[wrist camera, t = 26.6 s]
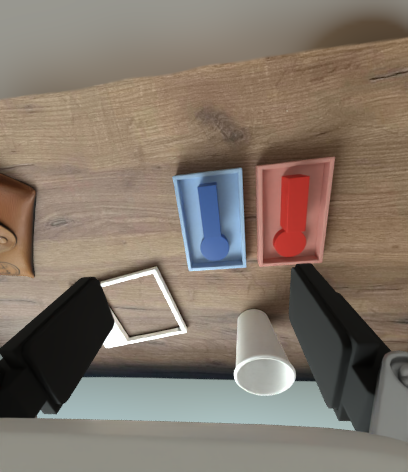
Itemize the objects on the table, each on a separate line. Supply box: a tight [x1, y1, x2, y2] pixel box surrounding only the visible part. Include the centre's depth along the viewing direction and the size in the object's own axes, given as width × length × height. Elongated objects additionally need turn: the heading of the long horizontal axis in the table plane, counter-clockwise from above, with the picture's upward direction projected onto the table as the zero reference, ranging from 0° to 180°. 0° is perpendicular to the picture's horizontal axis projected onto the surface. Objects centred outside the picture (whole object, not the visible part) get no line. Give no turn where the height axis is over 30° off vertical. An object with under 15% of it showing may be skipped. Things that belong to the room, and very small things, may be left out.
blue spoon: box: [197, 182, 229, 261], centre depth 27 cm, size 12×4×3 cm, turn 7°
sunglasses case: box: [0, 173, 36, 278], centre depth 31 cm, size 18×7×7 cm
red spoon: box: [273, 174, 310, 257], centre depth 26 cm, size 12×4×3 cm, turn 7°
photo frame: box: [100, 266, 187, 348], centre depth 36 cm, size 15×1×18 cm
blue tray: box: [173, 167, 246, 271], centre depth 28 cm, size 9×14×2 cm, turn 7°
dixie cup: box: [234, 309, 296, 396], centre depth 31 cm, size 8×8×10 cm
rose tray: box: [256, 157, 335, 267], centre depth 27 cm, size 9×14×2 cm, turn 7°
